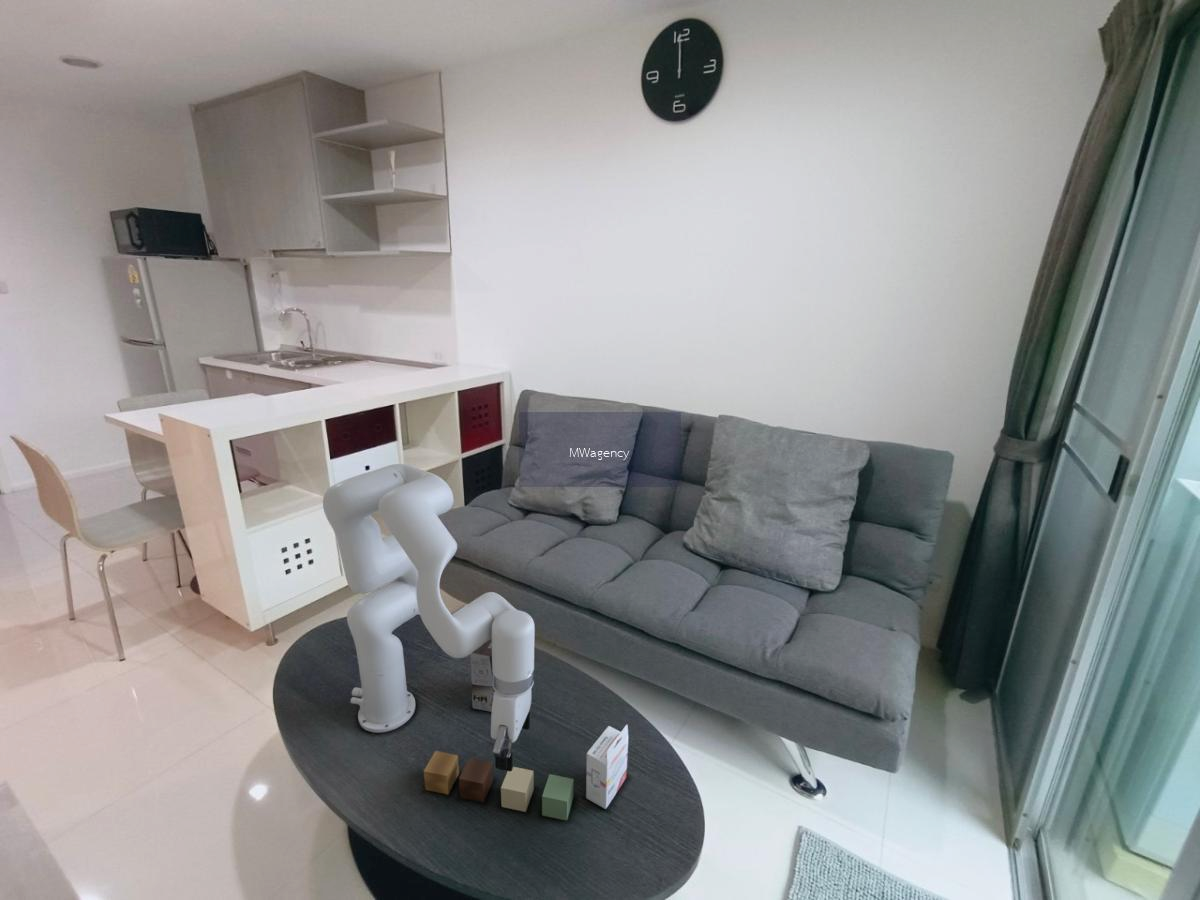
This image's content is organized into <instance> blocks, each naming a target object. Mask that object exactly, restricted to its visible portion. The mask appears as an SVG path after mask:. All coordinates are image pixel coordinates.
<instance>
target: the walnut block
mask: <svg viewBox="0 0 1200 900" xmlns="http://www.w3.org/2000/svg"><path fill="white" fill-rule="evenodd" d="M459 775H460V776H458V777H459V778H458V785H459V786H458V787H459V798H461V799H466V800H470V801H474V802H475V801H476V802H480V803H484V802H485V800H486V798H487V796H488V793H489V791H490V790H491V787H492V784H493V782H494V771H493V762H492V761H488V760H484V759H478V758H474V757H468V760H467V761H466V764H465V766H464V767H463V769H462V771H461V773H460V774H459Z"/></svg>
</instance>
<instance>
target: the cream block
mask: <svg viewBox="0 0 1200 900" xmlns="http://www.w3.org/2000/svg"><path fill="white" fill-rule="evenodd" d="M534 775H535V773H534V770H532V769H527V768H521V767H516V766H513V769H512V771H506V775H505V777H504V779H503V782H502V784H501V786H500V798H501V799H500V801H501V805H500V806H501V808H505V809H510V810H514V811H520V812H524V813H526V812H527V810H528V807H529V805H530V801H531V799H532V796H533V793H534V790H535V785H534V784H535V782H534V780H535V779H534V777H535V776H534Z"/></svg>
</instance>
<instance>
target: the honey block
mask: <svg viewBox="0 0 1200 900" xmlns="http://www.w3.org/2000/svg"><path fill="white" fill-rule="evenodd" d="M459 775H460V767H459V755H458V754H454V753H449V752H445V751H439V750H434V753H433V754H432V756H431V758H430V759H429V761H428V762H427V764H426V766H425V768H424V769H423V778H424V789H425V791H430V792H435V793H438V794H443V795H448V796H449V794H450V792H451V790H452V788H453V786H454V785H455V783H456V780H457V778H458V777H459Z"/></svg>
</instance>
